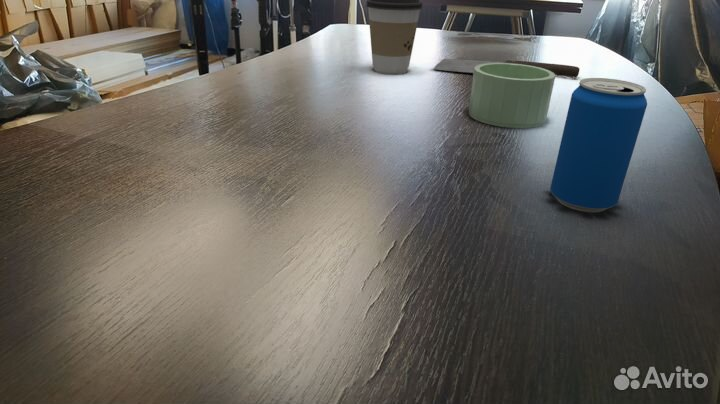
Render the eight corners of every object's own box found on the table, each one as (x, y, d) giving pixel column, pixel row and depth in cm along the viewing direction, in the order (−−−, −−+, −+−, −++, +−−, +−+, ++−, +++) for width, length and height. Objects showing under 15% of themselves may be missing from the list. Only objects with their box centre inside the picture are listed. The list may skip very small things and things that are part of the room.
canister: (499, 102, 85) (506, 60, 81) (560, 119, 77) (570, 74, 73) (452, 112, 78) (458, 67, 75) (514, 133, 70) (523, 83, 67)
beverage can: (618, 221, 48) (656, 97, 42) (547, 208, 49) (575, 88, 44) (613, 194, 53) (646, 81, 48) (549, 183, 55) (574, 74, 49)
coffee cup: (410, 78, 98) (416, -4, 91) (356, 73, 101) (358, -7, 94) (423, 67, 107) (429, -8, 101) (372, 62, 111) (375, -11, 104)
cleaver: (576, 73, 106) (578, 63, 105) (581, 84, 98) (584, 73, 97) (438, 63, 113) (439, 54, 112) (432, 72, 105) (433, 62, 104)
